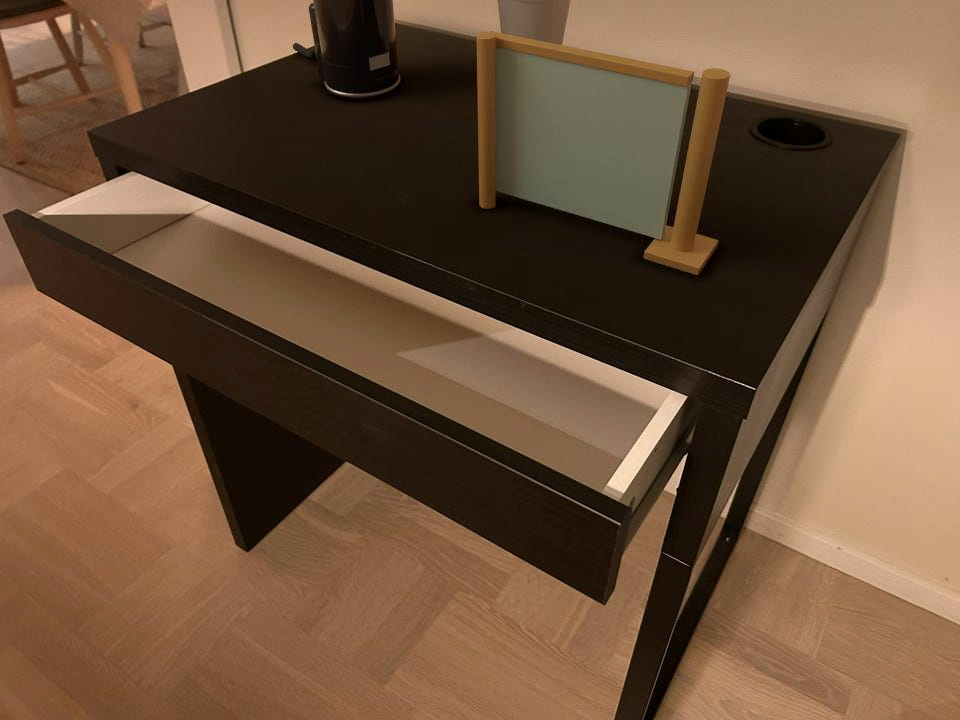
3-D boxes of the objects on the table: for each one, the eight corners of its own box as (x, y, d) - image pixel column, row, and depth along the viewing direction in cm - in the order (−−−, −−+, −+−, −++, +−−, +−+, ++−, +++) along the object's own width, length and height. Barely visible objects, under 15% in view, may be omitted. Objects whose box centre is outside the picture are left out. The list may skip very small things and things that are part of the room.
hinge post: (717, 247, 67) (759, 68, 56) (697, 276, 64) (739, 92, 53) (664, 231, 69) (695, 56, 58) (642, 259, 66) (672, 78, 55)
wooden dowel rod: (498, 203, 73) (499, 34, 62) (490, 210, 72) (489, 40, 61) (484, 198, 73) (482, 30, 63) (476, 206, 72) (472, 36, 62)
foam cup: (532, 58, 100) (536, -50, 91) (583, 78, 95) (592, -34, 86) (478, 77, 96) (477, -34, 87) (528, 99, 90) (532, -16, 82)
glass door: (665, 234, 67) (694, 71, 57) (660, 241, 66) (689, 76, 56) (491, 183, 74) (491, 30, 64) (485, 189, 73) (483, 35, 63)
